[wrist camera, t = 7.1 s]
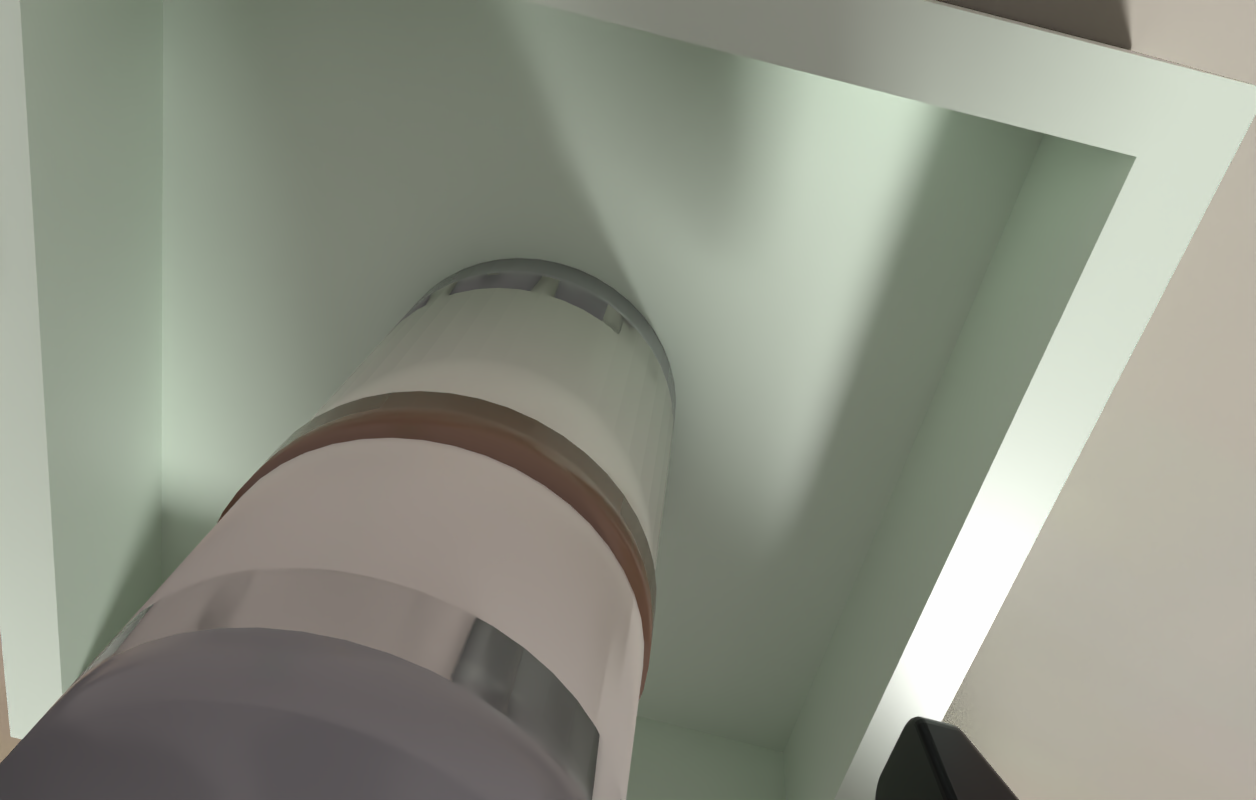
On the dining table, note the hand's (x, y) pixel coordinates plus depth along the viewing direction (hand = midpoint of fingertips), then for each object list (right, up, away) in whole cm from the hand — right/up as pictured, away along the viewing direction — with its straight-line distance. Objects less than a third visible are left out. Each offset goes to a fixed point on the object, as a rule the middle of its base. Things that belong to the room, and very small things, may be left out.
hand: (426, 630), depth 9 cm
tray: (0, +2, +5) cm, 6 cm away
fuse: (0, +2, +4) cm, 5 cm away
